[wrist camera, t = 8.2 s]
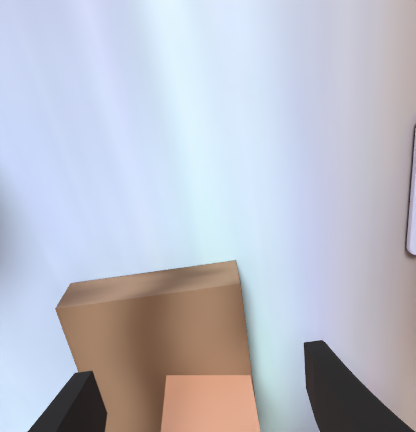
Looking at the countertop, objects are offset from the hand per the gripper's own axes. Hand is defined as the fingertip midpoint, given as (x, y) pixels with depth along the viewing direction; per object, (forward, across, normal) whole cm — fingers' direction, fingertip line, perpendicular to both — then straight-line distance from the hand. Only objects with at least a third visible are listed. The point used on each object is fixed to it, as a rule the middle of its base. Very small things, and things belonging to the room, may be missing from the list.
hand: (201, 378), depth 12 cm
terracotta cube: (+7, +1, +10) cm, 12 cm away
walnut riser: (+9, +3, +8) cm, 13 cm away
